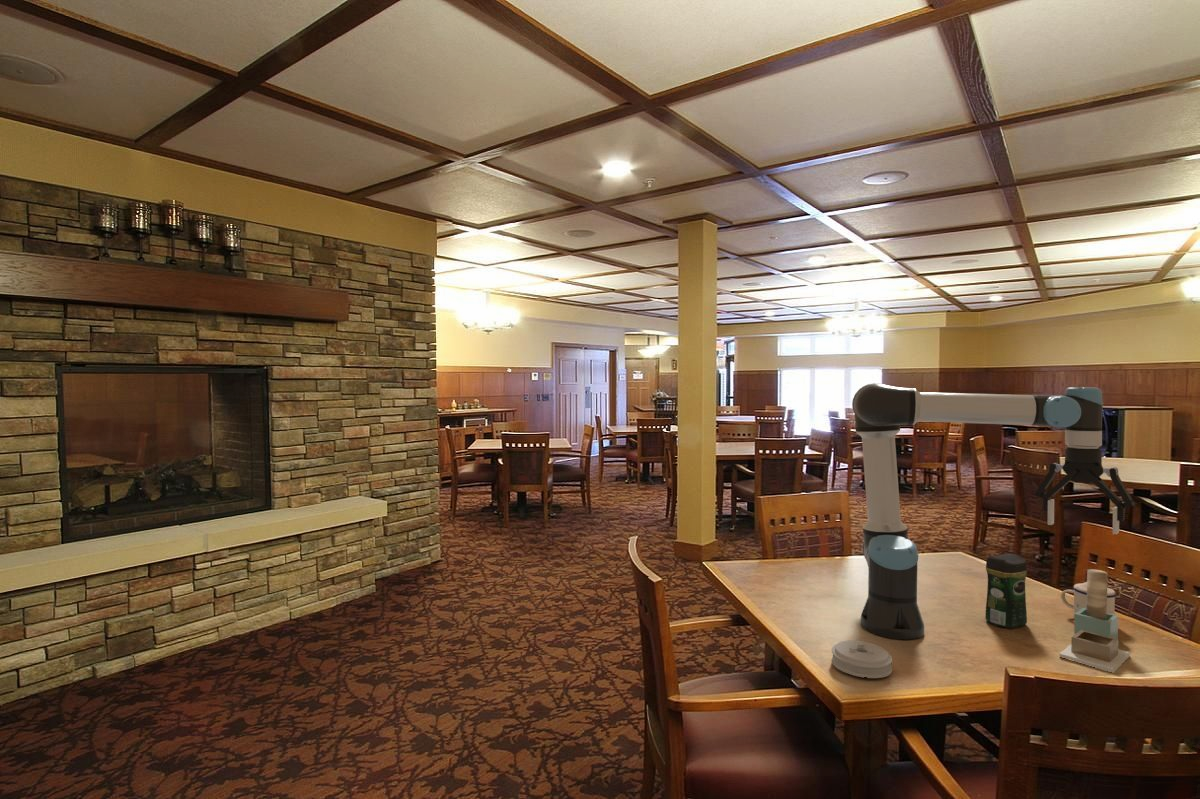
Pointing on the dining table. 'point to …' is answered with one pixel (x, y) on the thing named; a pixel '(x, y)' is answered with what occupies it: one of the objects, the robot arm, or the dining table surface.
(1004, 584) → the coffee jar
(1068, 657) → the board
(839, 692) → the dining table surface
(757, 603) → the dining table surface
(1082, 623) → the pen pot
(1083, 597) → the teacup with lid
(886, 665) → the lid
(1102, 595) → the dowel
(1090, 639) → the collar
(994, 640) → the dining table surface
